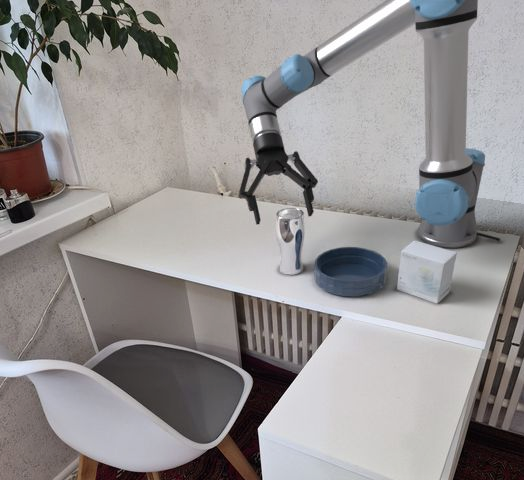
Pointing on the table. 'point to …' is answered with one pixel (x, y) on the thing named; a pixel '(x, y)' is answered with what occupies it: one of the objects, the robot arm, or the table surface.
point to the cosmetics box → (426, 271)
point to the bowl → (350, 271)
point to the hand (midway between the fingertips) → (285, 218)
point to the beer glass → (290, 239)
